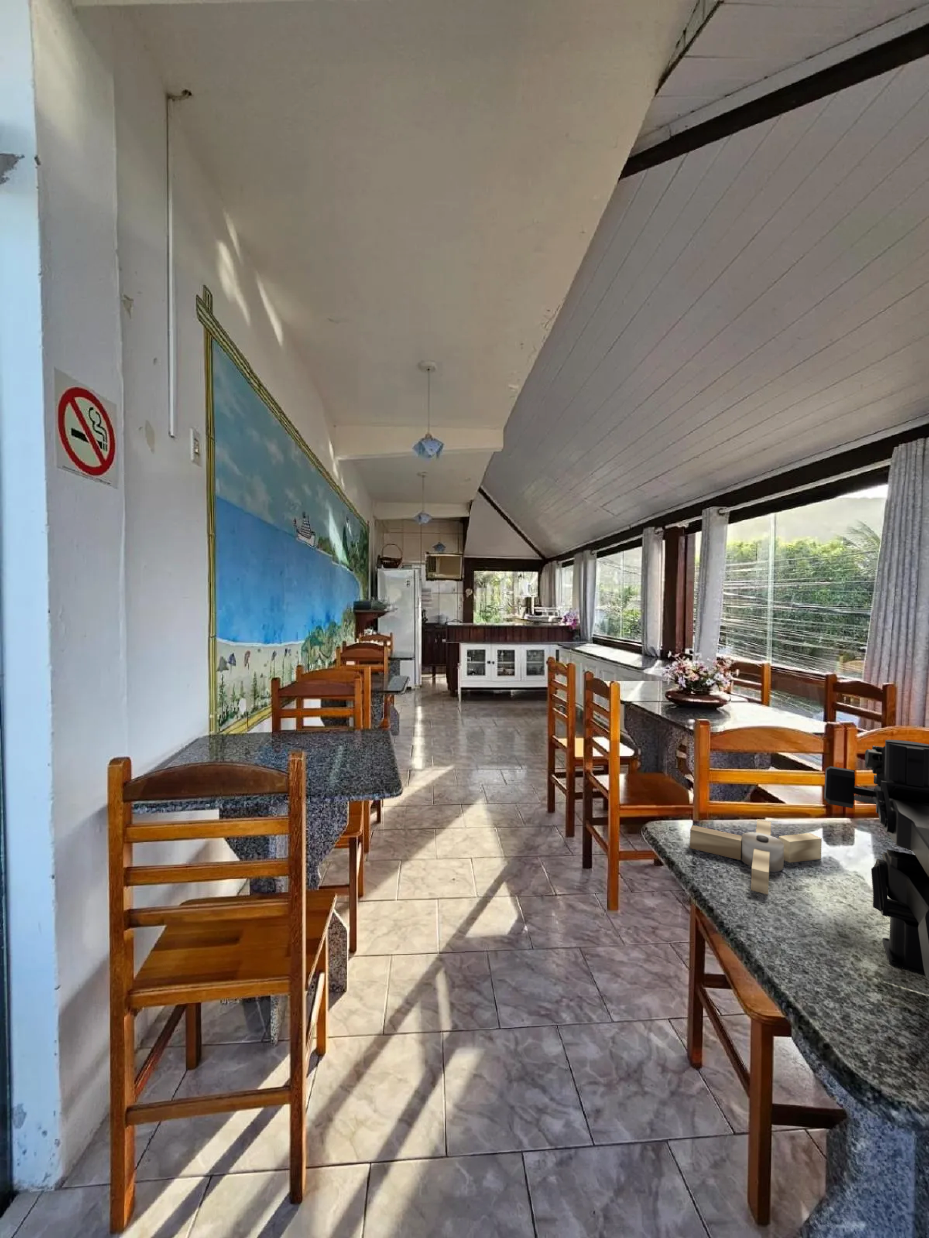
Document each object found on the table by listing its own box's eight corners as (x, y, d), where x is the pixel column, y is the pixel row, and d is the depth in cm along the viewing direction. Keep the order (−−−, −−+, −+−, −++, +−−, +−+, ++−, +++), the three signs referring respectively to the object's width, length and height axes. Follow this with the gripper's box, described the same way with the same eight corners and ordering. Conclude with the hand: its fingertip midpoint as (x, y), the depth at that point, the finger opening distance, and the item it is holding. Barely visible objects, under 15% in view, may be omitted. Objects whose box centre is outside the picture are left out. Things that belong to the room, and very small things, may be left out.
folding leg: (789, 862, 98) (789, 841, 98) (778, 856, 101) (778, 836, 101) (821, 858, 100) (821, 838, 100) (809, 852, 103) (810, 832, 103)
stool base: (783, 900, 86) (784, 870, 86) (680, 872, 94) (681, 845, 94) (783, 843, 107) (783, 819, 107) (699, 825, 116) (699, 803, 116)
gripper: (989, 766, 75) (955, 749, 89) (832, 744, 85) (823, 731, 98) (985, 843, 75) (952, 814, 88) (828, 812, 84) (820, 791, 98)
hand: (883, 785), depth 93 cm, fingers open, 9 cm apart
